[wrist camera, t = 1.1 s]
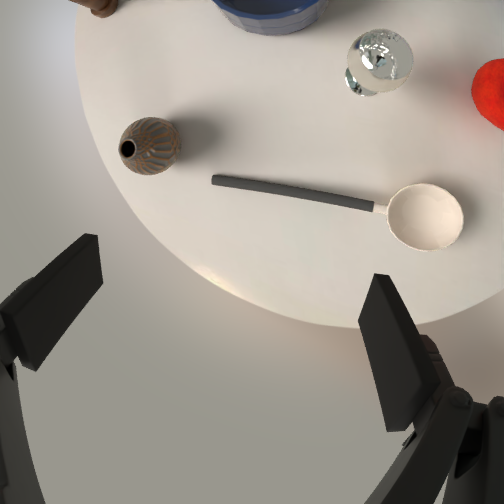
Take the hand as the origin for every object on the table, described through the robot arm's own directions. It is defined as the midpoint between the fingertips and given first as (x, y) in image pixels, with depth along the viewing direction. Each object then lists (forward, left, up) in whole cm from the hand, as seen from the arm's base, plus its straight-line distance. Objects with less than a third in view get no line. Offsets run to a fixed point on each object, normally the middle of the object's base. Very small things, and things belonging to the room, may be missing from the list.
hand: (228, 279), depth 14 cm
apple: (-21, +22, -25) cm, 39 cm away
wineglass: (-16, +5, -25) cm, 30 cm away
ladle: (-1, +7, -25) cm, 26 cm away
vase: (-1, -16, -25) cm, 30 cm away
